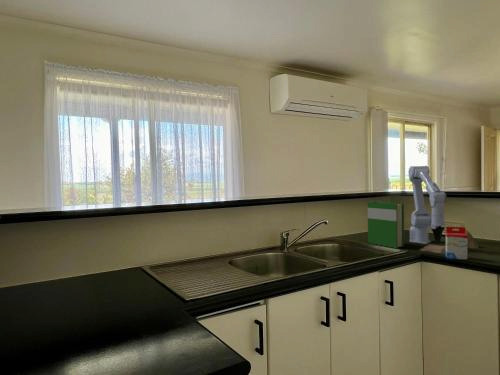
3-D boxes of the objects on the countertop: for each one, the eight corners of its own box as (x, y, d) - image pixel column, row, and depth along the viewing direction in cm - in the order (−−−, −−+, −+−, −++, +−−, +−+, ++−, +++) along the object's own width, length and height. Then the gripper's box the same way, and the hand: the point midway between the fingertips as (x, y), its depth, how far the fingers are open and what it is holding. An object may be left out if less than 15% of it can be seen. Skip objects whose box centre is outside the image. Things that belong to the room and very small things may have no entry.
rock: (483, 243, 188) (464, 237, 197) (480, 231, 184) (461, 226, 193) (472, 257, 185) (453, 251, 193) (469, 246, 181) (450, 240, 190)
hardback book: (404, 247, 194) (404, 203, 193) (396, 249, 189) (396, 204, 188) (375, 242, 208) (375, 201, 207) (368, 244, 204) (367, 202, 202)
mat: (418, 250, 185) (418, 249, 185) (426, 246, 194) (426, 246, 194) (445, 254, 176) (445, 253, 176) (452, 249, 185) (452, 249, 185)
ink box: (446, 258, 167) (446, 227, 166) (445, 256, 172) (445, 226, 171) (467, 260, 164) (467, 228, 163) (465, 257, 169) (465, 227, 168)
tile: (429, 247, 190) (424, 250, 184) (429, 244, 190) (424, 246, 184) (445, 249, 184) (441, 252, 178) (445, 246, 184) (441, 249, 178)
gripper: (441, 217, 178) (441, 243, 179) (450, 214, 189) (450, 239, 189) (426, 216, 183) (426, 242, 184) (435, 213, 194) (435, 237, 194)
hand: (437, 240), depth 187 cm, fingers closed
